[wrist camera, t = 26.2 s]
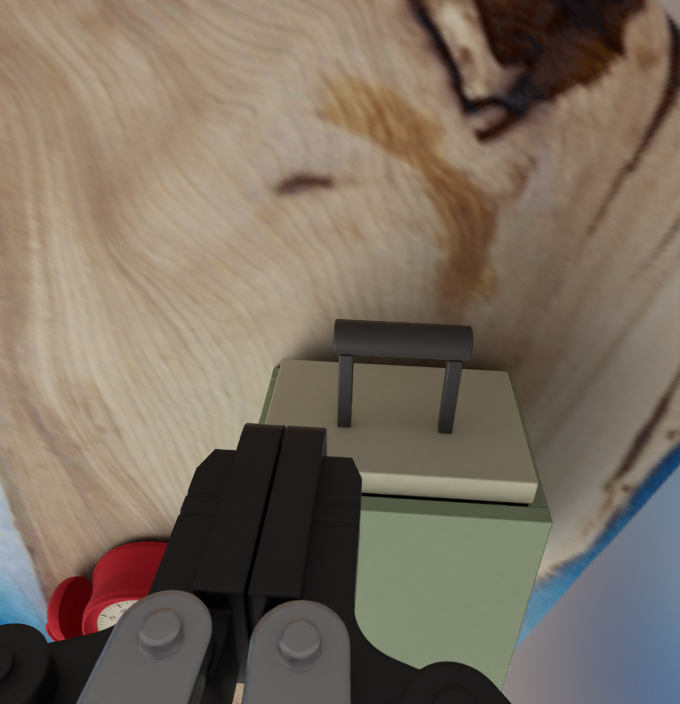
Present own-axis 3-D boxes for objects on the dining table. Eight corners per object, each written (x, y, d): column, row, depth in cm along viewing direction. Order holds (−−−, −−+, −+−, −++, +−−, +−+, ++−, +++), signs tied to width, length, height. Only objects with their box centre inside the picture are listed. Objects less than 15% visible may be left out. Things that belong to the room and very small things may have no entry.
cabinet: (273, 367, 33) (236, 501, 25) (513, 380, 32) (553, 522, 24) (282, 548, 41) (255, 695, 33) (474, 562, 40) (495, 714, 32)
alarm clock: (275, 654, 41) (93, 747, 43) (272, 581, 47) (111, 667, 49) (179, 561, 37) (-21, 670, 38) (188, 492, 42) (14, 591, 44)
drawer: (278, 265, 29) (244, 358, 22) (527, 276, 28) (568, 376, 22) (288, 536, 39) (268, 655, 32) (471, 549, 38) (487, 672, 32)
